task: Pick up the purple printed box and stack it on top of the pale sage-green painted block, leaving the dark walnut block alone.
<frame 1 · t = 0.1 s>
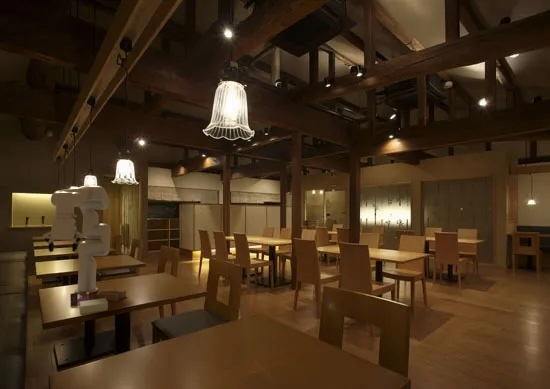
hand: (62, 251, 152), 31 cm above the table, tool pointing down, fingers open, 9 cm apart
walnut block: (110, 299, 180), on the table
sage block: (93, 310, 161), on the table
purple printed box: (79, 304, 169), on the table
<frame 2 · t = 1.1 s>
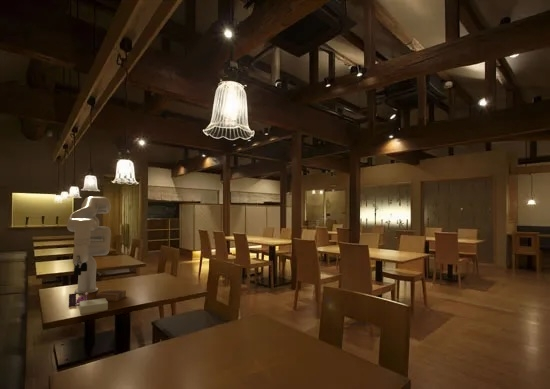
hand: (80, 273, 169), 17 cm above the table, tool pointing down, fingers open, 9 cm apart
purple printed box: (78, 305, 168), on the table
everything else where it was.
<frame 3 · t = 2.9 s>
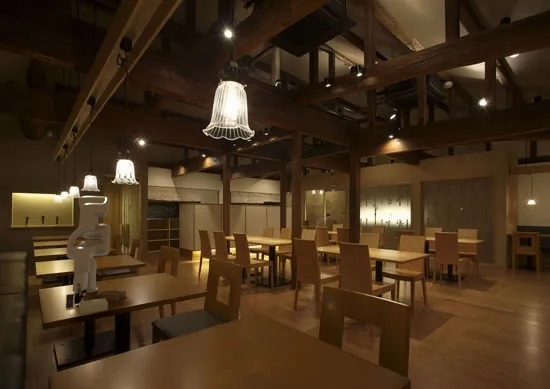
hand: (80, 300, 169), 2 cm above the table, tool pointing down, fingers open, 9 cm apart
purple printed box: (75, 306, 166), on the table
everything else where it was.
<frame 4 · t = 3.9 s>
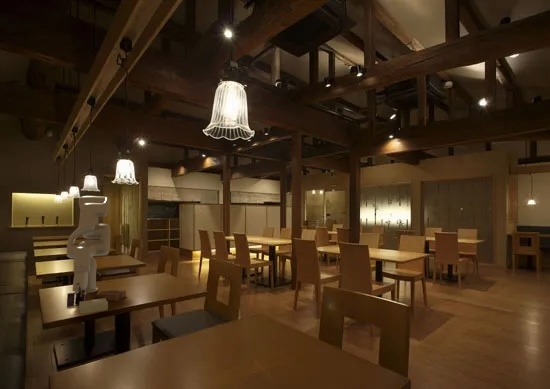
hand: (80, 302, 169), 1 cm above the table, tool pointing down, fingers closed on purple printed box, 4 cm apart
purple printed box: (76, 304, 168), on the table, touching gripper
everything else where it was.
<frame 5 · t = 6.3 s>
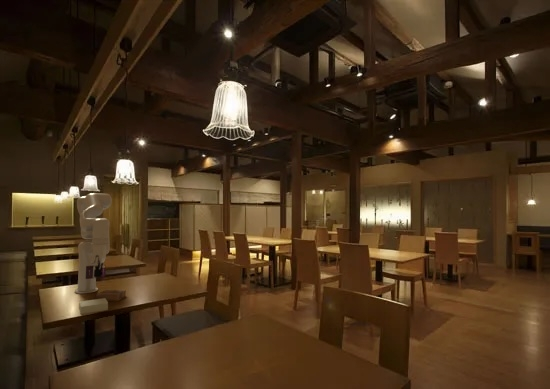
hand: (98, 275, 166), 16 cm above the table, tool pointing down, fingers closed on purple printed box, 4 cm apart
purple printed box: (95, 277, 165), point 15 cm above the table, touching gripper
everything else where it was.
when the fingers open (6 cm above the table, at t = 8.8 s): purple printed box drops 1 cm, point 3 cm above the table.
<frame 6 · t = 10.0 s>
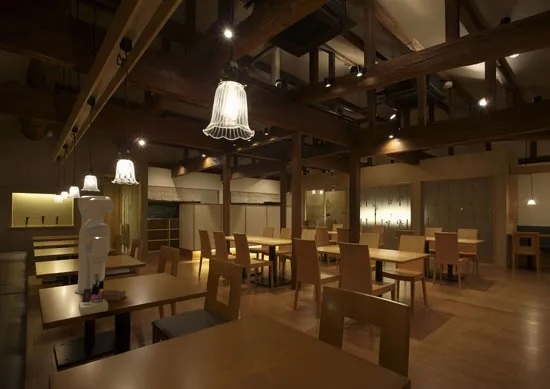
hand: (97, 291, 166), 8 cm above the table, tool pointing down, fingers open, 9 cm apart
sage block: (93, 311, 160), on the table
purple printed box: (92, 301, 162), point 3 cm above the table, touching gripper
everything else where it was.
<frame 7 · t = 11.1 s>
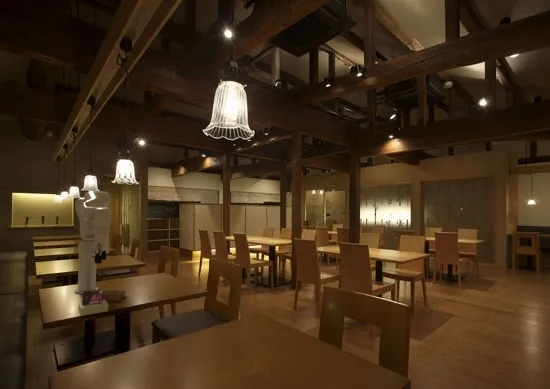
hand: (100, 261, 170), 23 cm above the table, tool pointing down, fingers open, 9 cm apart
sage block: (93, 311, 159), on the table, touching purple printed box
purple printed box: (92, 303, 160), point 3 cm above the table, touching sage block
everything else where it was.
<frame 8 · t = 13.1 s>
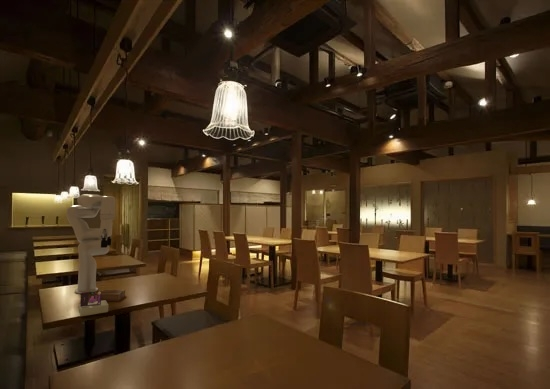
hand: (106, 246, 180), 30 cm above the table, tool pointing down, fingers open, 9 cm apart
purple printed box: (90, 305, 157), point 3 cm above the table, touching sage block
at the end: purple printed box inside the target area on the sage block (1.3 cm from its centre), point 3.8 cm above the sage block's base; purple printed box tilted 1°; the gripper is holding nothing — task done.
